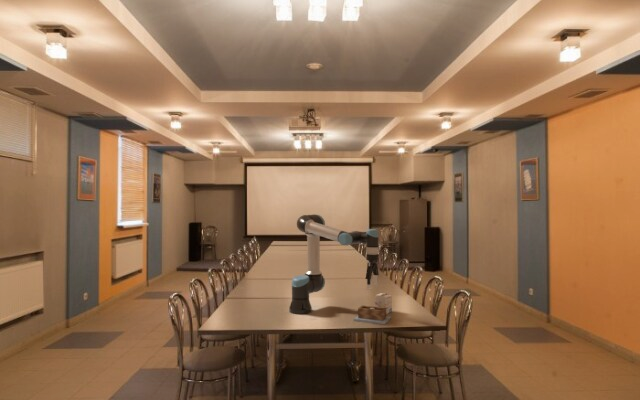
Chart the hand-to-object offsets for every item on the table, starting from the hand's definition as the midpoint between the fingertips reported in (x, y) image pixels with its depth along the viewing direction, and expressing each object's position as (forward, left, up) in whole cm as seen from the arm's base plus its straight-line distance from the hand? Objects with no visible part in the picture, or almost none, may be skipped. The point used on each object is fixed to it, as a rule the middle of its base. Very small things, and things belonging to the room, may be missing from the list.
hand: (372, 287), depth 266 cm
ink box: (+2, +20, -21) cm, 29 cm away
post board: (0, 0, -20) cm, 20 cm away
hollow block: (0, 0, -19) cm, 19 cm away
